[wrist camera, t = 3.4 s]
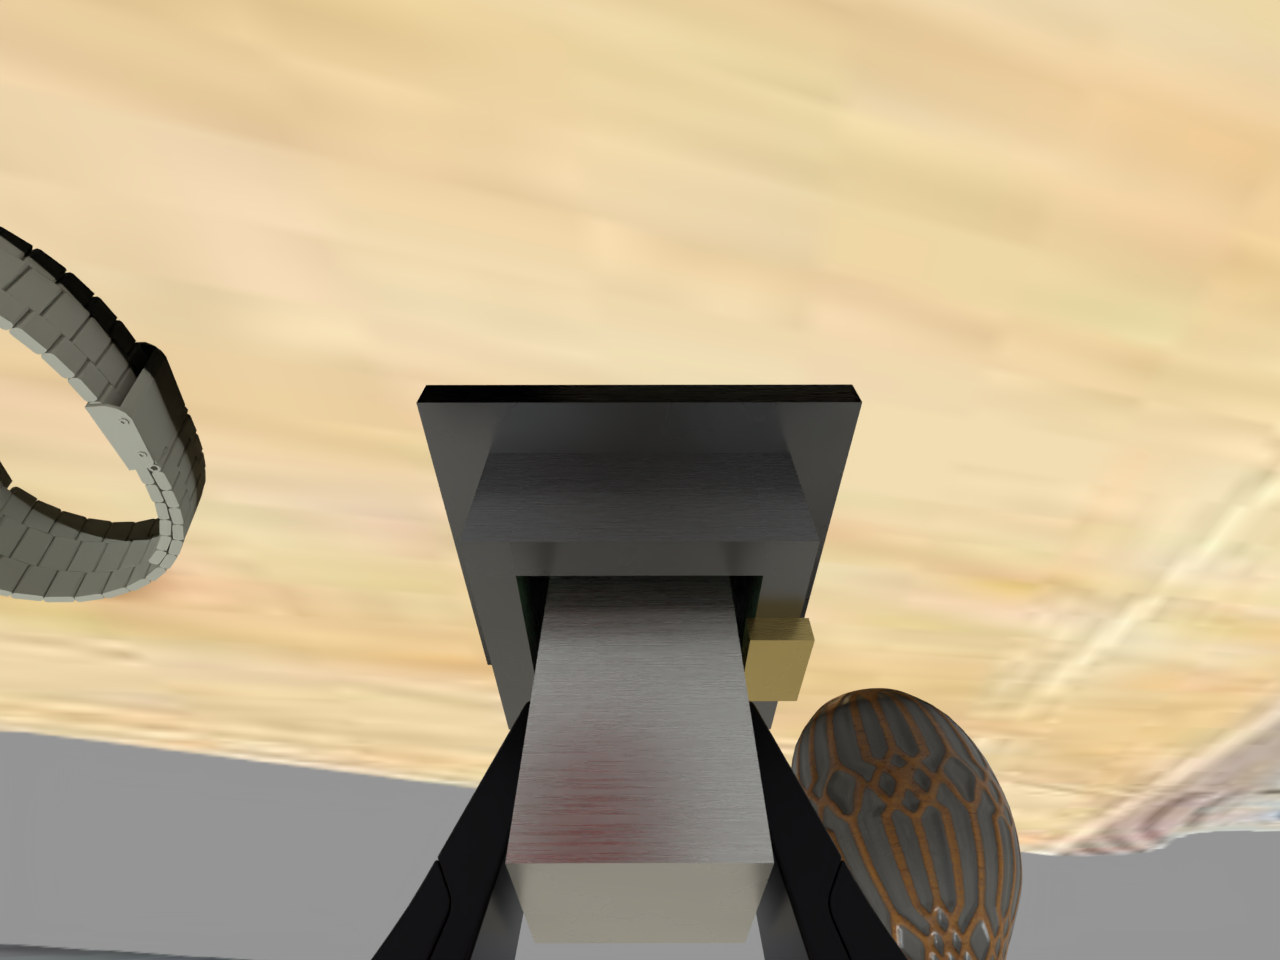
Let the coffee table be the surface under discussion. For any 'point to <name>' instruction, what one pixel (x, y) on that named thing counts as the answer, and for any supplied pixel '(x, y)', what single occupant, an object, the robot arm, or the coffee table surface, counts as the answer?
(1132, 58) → the coffee table surface
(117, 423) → the wristwatch
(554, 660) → the post
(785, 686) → the stand base
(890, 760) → the vase
